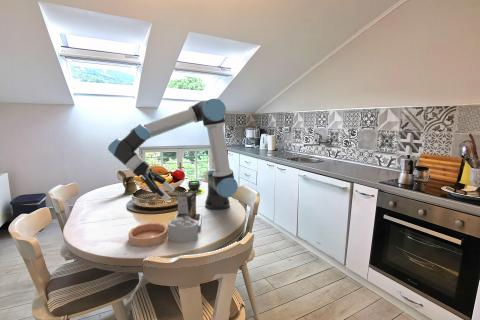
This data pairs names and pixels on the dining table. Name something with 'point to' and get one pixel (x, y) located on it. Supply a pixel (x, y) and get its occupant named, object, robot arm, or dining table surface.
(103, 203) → the dining table surface
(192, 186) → the toy cauldron
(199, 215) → the parts tray
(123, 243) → the dining table surface
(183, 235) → the lumpy-topped squat cylinder
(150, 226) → the bowl
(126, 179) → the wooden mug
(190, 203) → the coffee box
